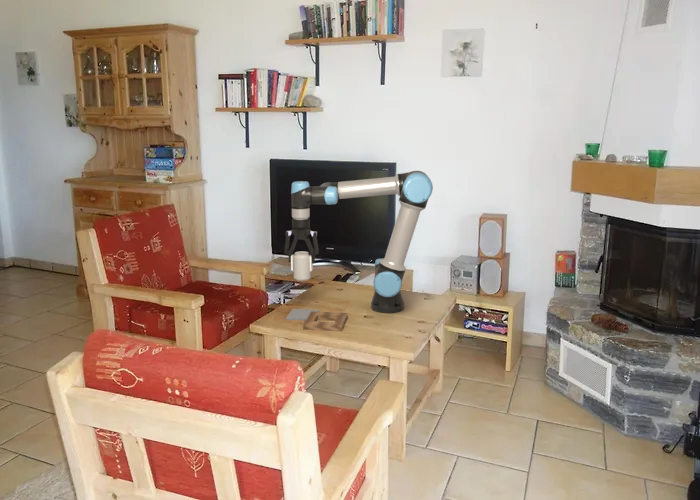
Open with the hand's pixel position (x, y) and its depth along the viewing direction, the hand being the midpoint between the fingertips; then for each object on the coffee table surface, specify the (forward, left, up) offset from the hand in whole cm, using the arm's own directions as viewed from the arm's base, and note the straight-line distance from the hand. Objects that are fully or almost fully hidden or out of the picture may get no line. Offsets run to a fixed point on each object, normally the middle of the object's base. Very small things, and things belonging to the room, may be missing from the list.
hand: (302, 270), depth 256 cm
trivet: (0, 0, -21) cm, 21 cm away
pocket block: (-12, +9, -21) cm, 26 cm away
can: (0, 0, -4) cm, 4 cm away
